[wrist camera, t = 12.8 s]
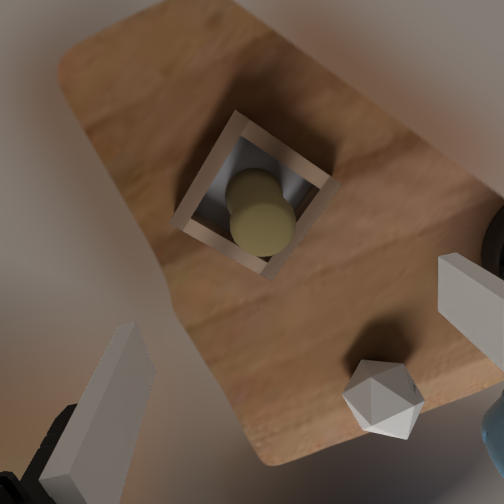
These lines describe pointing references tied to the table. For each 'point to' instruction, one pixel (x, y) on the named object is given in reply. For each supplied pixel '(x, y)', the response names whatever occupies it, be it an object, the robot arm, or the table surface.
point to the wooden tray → (237, 159)
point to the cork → (259, 213)
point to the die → (384, 398)
